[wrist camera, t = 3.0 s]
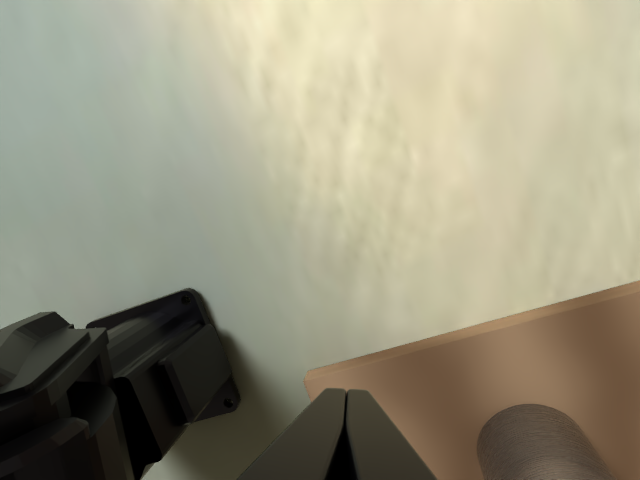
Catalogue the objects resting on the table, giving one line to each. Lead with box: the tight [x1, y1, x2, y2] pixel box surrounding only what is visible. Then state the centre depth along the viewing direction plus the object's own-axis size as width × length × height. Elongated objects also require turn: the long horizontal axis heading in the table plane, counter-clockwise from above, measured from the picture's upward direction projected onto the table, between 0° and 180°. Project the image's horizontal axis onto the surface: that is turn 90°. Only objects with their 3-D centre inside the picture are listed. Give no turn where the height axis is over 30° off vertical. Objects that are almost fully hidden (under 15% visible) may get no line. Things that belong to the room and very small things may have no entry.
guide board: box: [303, 281, 640, 480], centre depth 18 cm, size 23×11×1 cm, turn 111°
